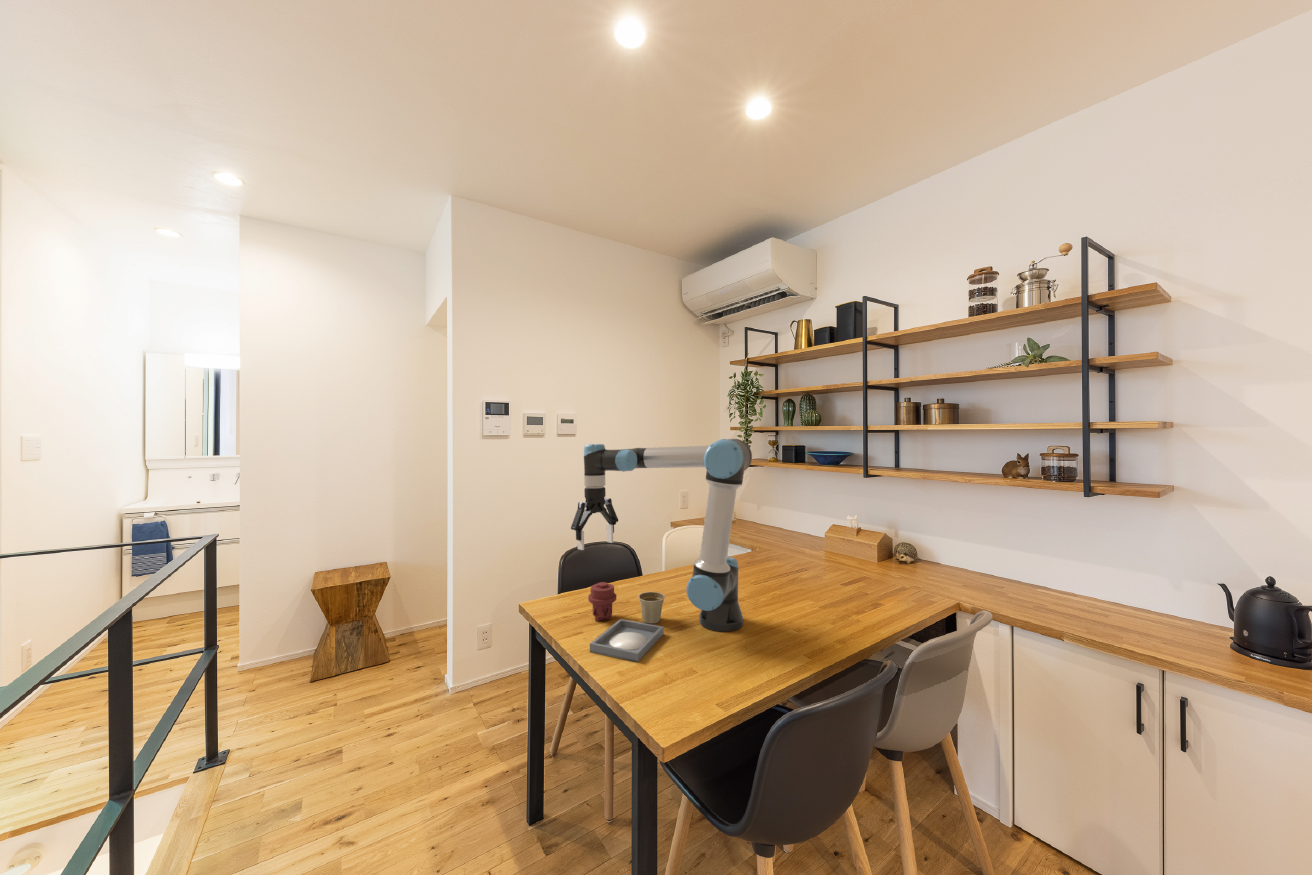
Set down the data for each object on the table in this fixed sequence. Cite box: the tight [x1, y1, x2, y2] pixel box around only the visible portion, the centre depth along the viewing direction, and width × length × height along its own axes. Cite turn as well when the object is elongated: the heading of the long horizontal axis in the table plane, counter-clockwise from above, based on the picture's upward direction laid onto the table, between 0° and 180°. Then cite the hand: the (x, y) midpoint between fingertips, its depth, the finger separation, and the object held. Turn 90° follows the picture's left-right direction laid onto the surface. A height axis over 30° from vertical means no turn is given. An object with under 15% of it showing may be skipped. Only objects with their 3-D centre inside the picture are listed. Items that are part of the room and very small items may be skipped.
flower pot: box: [638, 591, 666, 625], centre depth 163 cm, size 9×9×9 cm
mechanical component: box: [588, 581, 617, 622], centre depth 165 cm, size 12×10×10 cm
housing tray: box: [589, 618, 665, 663], centre depth 146 cm, size 16×20×2 cm
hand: (595, 545), depth 167 cm, fingers open, 13 cm apart
